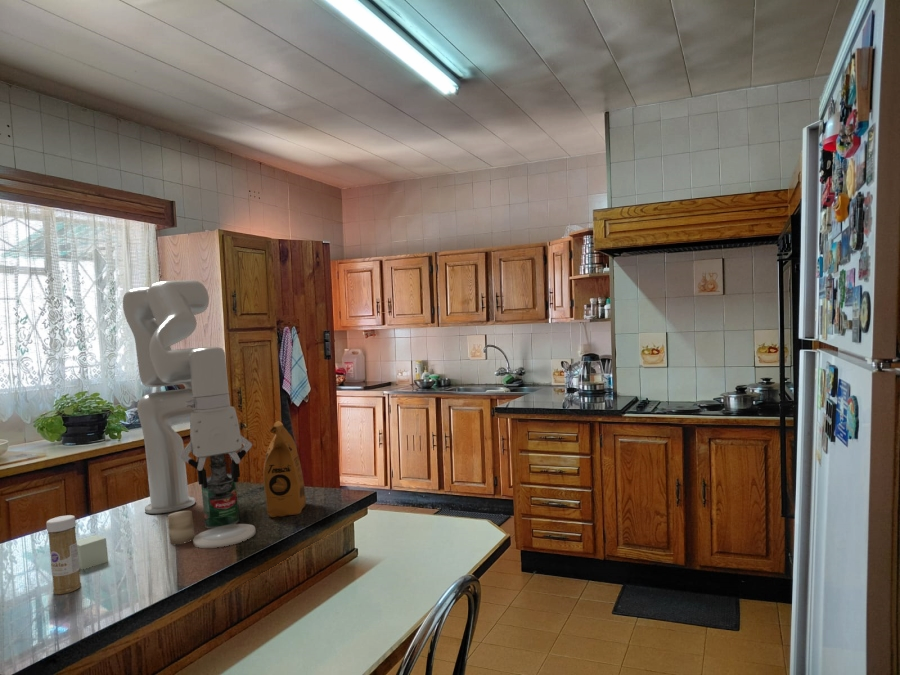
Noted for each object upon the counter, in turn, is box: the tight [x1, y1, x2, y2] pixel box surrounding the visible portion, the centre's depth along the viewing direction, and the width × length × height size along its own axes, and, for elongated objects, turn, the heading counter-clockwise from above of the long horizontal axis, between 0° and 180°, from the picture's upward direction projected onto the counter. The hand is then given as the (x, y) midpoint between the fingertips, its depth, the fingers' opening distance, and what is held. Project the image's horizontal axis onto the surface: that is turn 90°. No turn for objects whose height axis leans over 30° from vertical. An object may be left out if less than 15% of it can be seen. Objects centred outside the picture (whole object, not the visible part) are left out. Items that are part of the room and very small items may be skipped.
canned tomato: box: [200, 473, 240, 529], centre depth 153 cm, size 8×8×11 cm
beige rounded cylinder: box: [167, 510, 195, 545], centre depth 142 cm, size 5×5×6 cm
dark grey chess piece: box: [207, 454, 234, 501], centre depth 140 cm, size 6×6×12 cm
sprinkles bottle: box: [46, 514, 82, 595], centre depth 117 cm, size 5×5×14 cm
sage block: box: [76, 534, 109, 571], centre depth 131 cm, size 5×5×5 cm
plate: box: [192, 523, 256, 549], centre depth 141 cm, size 13×13×1 cm
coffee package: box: [262, 420, 307, 518], centre depth 159 cm, size 10×12×22 cm
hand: (219, 483), depth 140 cm, fingers closed on dark grey chess piece, 5 cm apart
